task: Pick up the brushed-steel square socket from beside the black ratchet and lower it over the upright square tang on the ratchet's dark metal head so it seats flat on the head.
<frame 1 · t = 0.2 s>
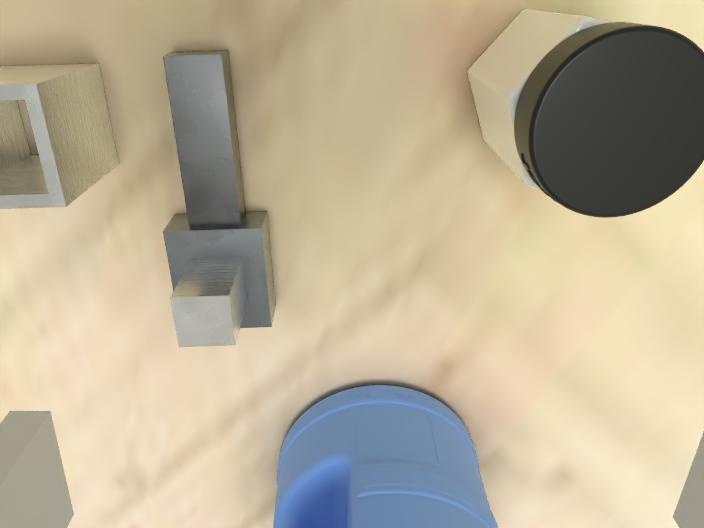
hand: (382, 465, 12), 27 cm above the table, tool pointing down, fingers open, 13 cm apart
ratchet: (218, 190, 38), on the table
jar: (536, 84, 36), on the table
socket: (59, 116, 36), on the table
water jug: (376, 455, 48), on the table
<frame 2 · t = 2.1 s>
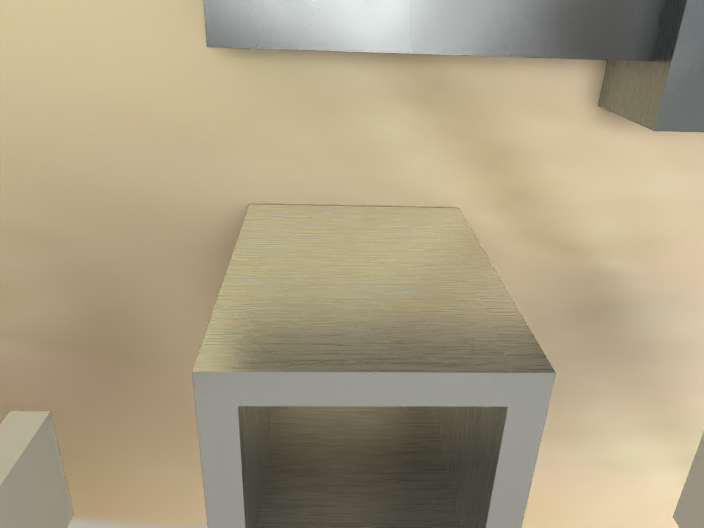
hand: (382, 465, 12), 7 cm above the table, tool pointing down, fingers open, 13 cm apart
socket: (351, 297, 18), on the table
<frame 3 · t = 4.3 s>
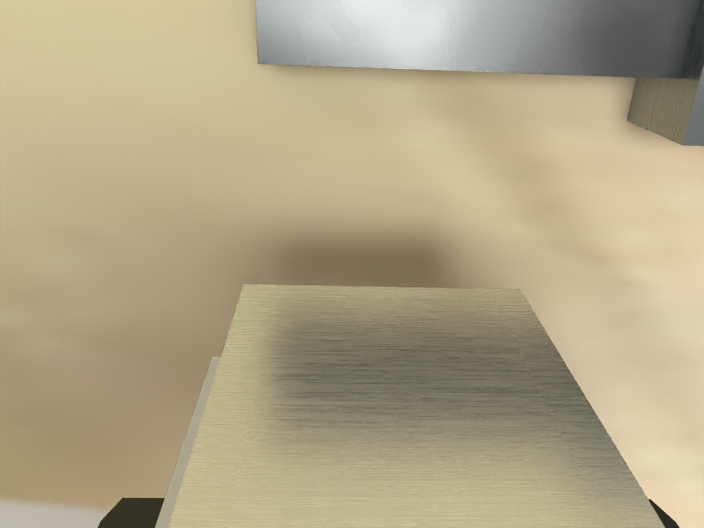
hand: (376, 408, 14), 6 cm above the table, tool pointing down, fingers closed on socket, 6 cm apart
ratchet: (596, 1, 15), on the table
socket: (375, 398, 14), point 5 cm above the table, touching gripper
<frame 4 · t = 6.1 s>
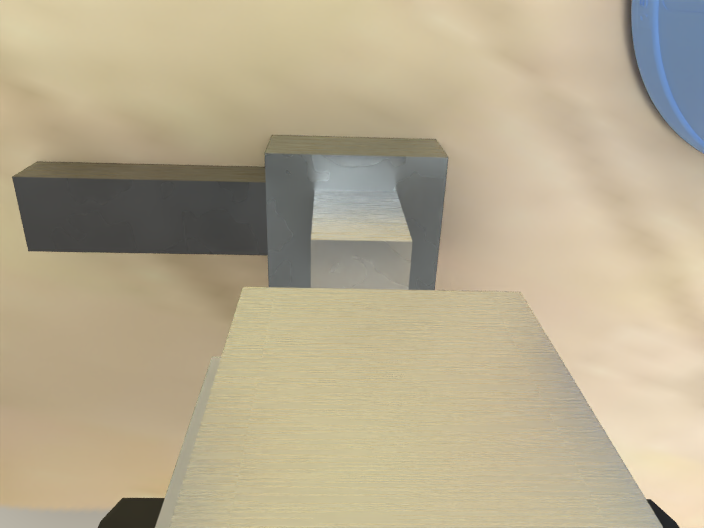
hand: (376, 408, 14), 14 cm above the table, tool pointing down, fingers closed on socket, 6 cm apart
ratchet: (239, 201, 26), on the table
socket: (375, 401, 14), point 14 cm above the table, touching gripper
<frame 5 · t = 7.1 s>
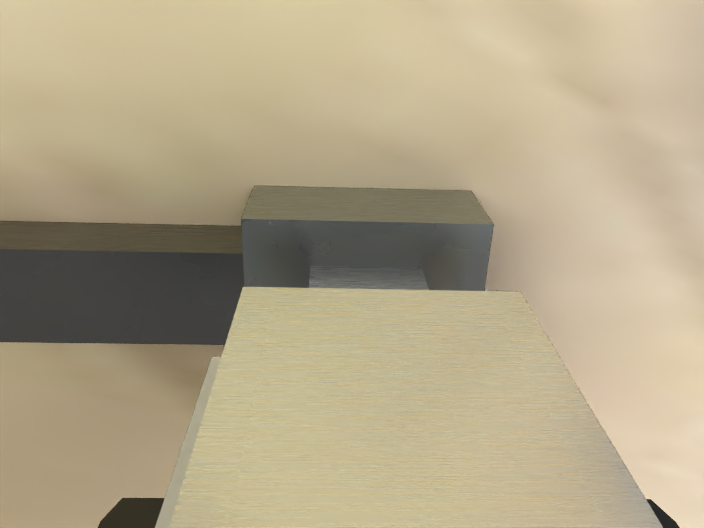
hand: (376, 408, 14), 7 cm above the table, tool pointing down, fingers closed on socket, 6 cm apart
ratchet: (213, 269, 20), on the table
socket: (375, 401, 14), point 7 cm above the table, touching gripper
when the fingers open (4 cm above the table, at t = 7.9 s): socket drops 1 cm, resting on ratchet.
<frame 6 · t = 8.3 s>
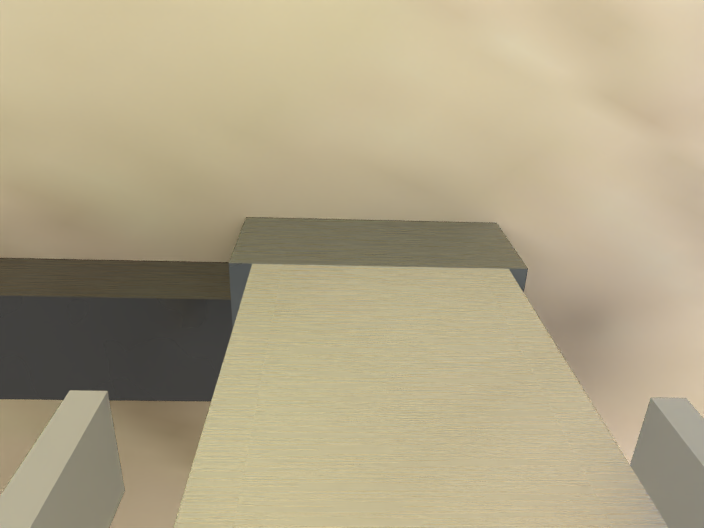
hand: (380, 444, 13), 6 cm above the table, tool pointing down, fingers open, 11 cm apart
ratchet: (199, 310, 18), on the table, touching socket
socket: (375, 372, 15), point 3 cm above the table, touching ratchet
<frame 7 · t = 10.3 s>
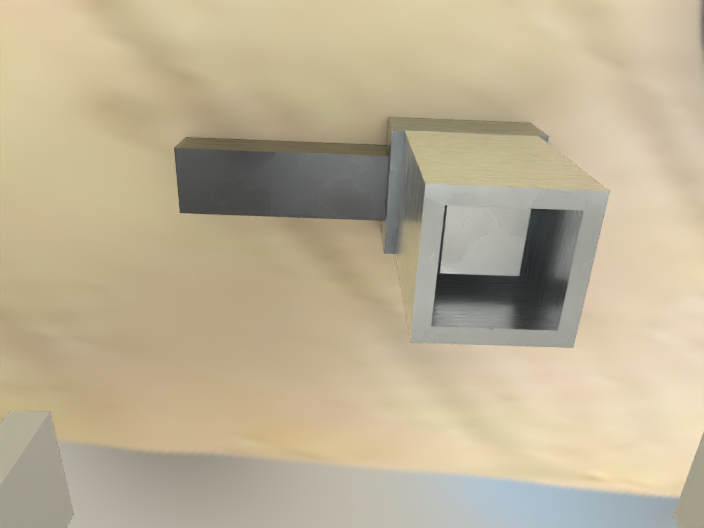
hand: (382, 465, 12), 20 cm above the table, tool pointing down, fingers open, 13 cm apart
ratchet: (355, 175, 30), on the table, touching socket
socket: (463, 197, 28), point 3 cm above the table, touching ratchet
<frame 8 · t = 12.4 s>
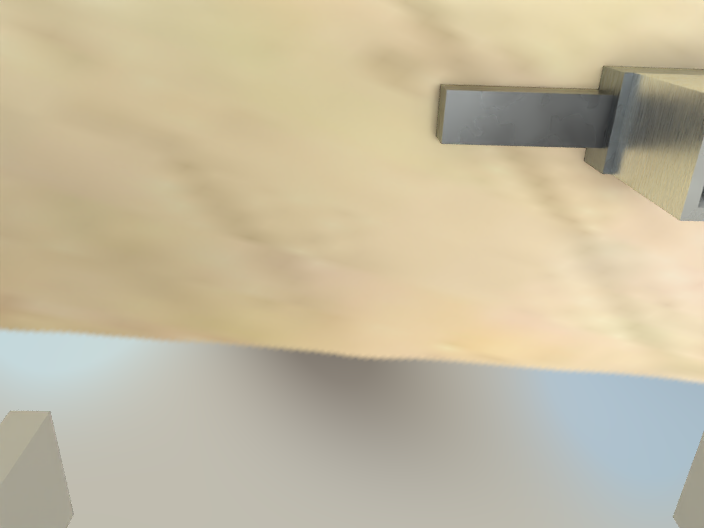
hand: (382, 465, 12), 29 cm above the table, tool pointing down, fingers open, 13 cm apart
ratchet: (570, 114, 38), on the table, touching socket
socket: (671, 126, 35), point 3 cm above the table, touching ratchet
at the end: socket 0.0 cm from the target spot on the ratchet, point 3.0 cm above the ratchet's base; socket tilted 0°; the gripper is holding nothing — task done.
